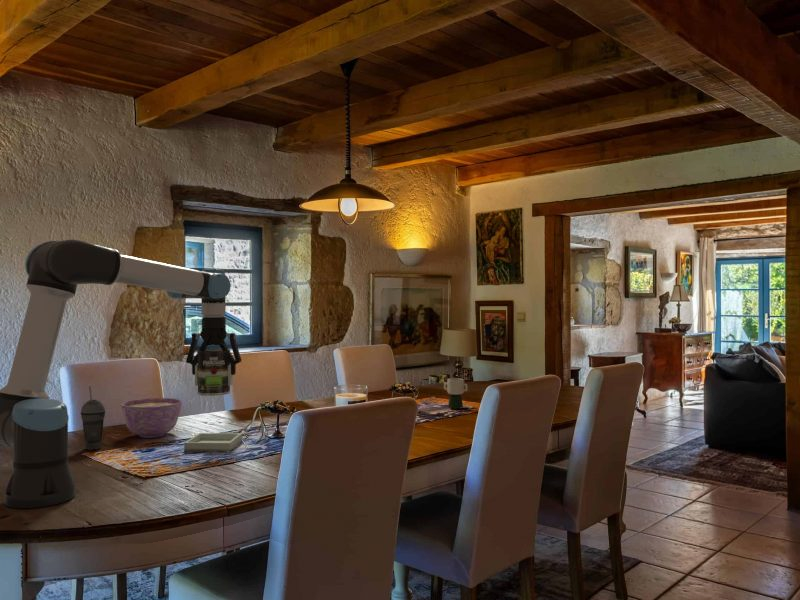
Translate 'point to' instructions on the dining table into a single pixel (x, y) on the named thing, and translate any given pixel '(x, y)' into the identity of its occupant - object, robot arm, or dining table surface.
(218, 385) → the coffee can
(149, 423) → the bowl of food
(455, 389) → the character mug
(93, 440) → the beverage cup
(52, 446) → the robot arm
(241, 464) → the dining table surface
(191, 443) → the tray
